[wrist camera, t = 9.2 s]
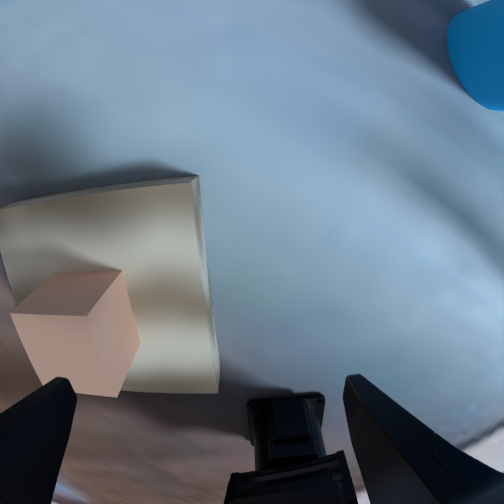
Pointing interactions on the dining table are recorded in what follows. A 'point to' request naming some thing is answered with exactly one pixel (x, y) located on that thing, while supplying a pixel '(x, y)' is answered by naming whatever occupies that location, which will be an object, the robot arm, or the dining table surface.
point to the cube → (80, 330)
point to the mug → (479, 52)
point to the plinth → (129, 269)
